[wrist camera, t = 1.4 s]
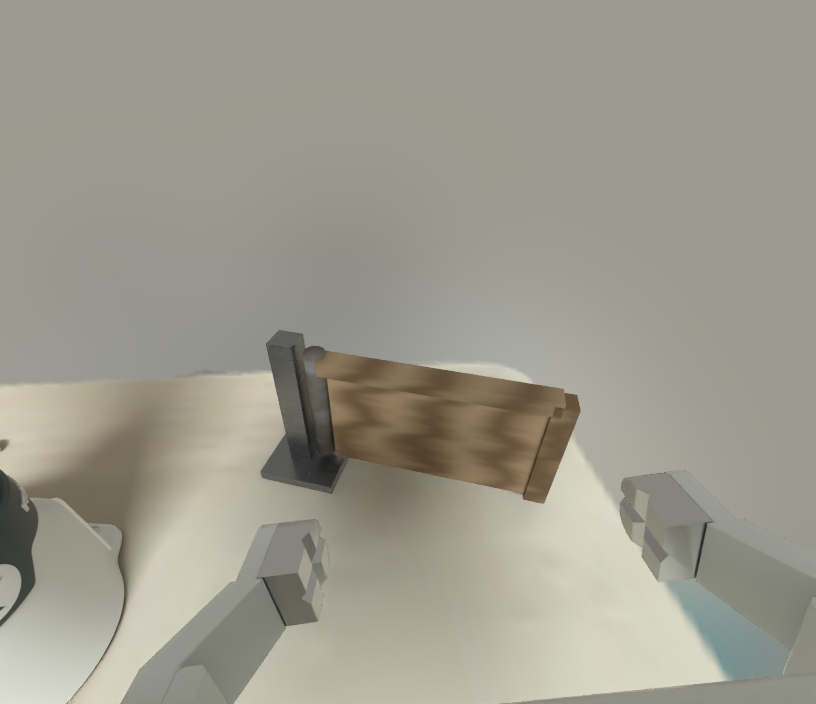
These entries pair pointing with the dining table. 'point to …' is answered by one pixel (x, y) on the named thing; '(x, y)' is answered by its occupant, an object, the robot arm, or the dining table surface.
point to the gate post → (297, 422)
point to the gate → (440, 421)
